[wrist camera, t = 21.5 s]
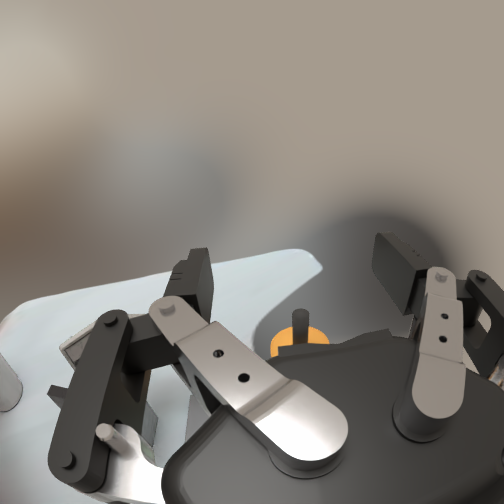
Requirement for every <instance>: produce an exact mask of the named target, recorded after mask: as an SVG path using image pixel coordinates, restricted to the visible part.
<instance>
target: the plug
mask: <svg viewBox="0 0 504 504" xmlns="http://www.w3.org/2000/svg"><path fill="white" fill-rule="evenodd" d="M303 343H319V344H329V341H328V339H327V337H326V336H325V335H324V334H323V333H322V332H321V331H319V330H317V329H315V328H312V327H309V312H308V311H307V310H305V309H297V310H295V311H294V312H293V314H292V327H289V328H287V329H284V330H282V331H281V332H279V333H278V334H277V335H276V336H275V337H274V338H273V340H272V342H271V358H272V357H274V356H277V355H278V346H286V345H295V344H303Z"/></svg>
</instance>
